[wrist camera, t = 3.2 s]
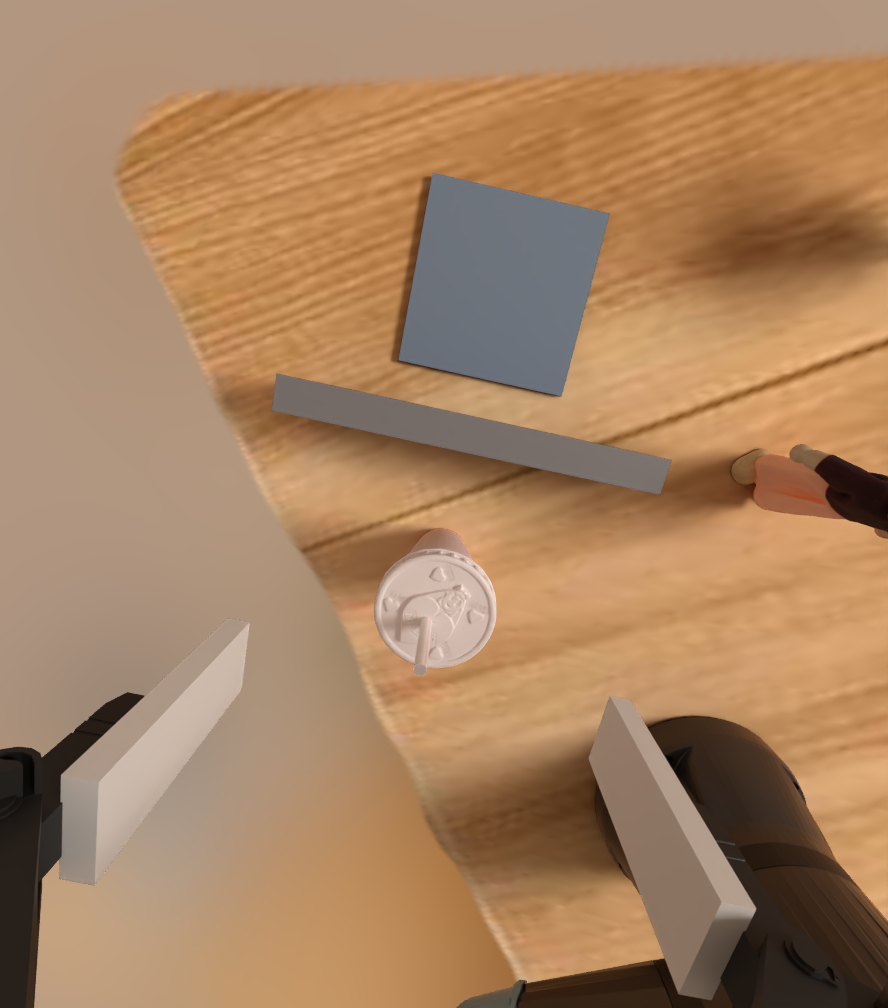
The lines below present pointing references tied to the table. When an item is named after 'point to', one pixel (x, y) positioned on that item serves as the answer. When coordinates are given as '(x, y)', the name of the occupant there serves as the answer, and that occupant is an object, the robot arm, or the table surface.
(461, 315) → the mat
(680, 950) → the robot arm
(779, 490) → the grandmother figurine
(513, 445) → the divider wall
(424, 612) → the smoothie
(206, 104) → the table surface
